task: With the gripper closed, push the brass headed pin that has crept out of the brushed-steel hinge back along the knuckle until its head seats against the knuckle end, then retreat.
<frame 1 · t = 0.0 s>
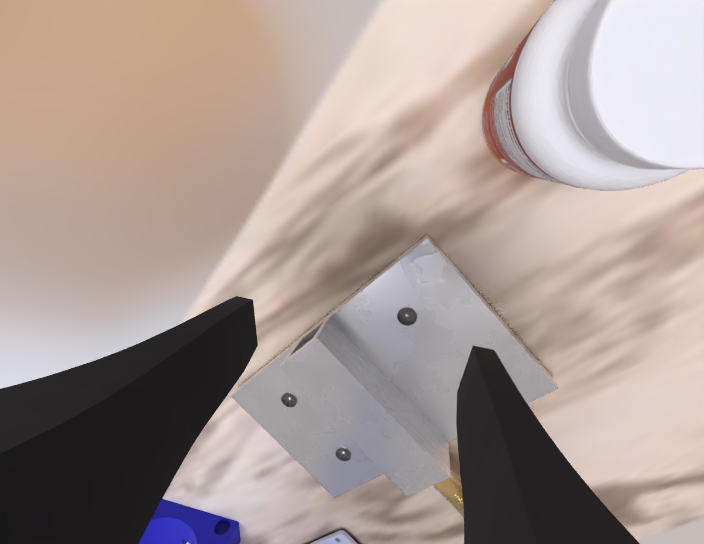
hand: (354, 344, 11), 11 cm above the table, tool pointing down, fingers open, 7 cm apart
pill bottle: (544, 112, 16), on the table
steel hinge: (374, 381, 24), on the table
cable clip: (191, 517, 35), on the table
brass headed pin: (432, 468, 22), point 2 cm above the table, slide at 6.0 cm
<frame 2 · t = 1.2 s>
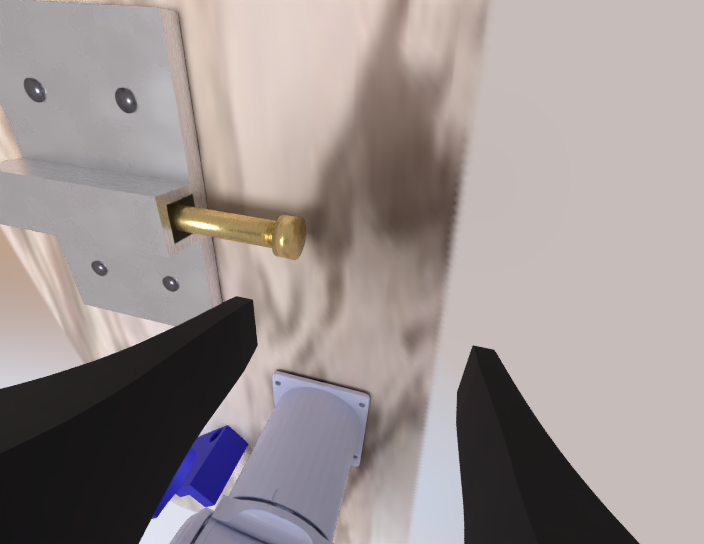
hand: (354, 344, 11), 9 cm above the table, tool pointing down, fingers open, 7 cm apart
steel hinge: (126, 193, 22), on the table
cable clip: (212, 447, 36), on the table
brass headed pin: (191, 219, 19), point 2 cm above the table, slide at 6.0 cm
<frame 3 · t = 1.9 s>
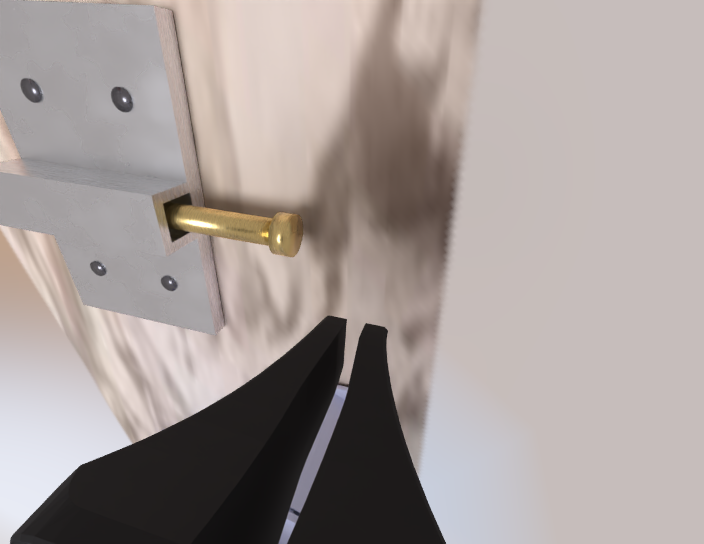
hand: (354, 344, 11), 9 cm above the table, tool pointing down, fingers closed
steel hinge: (124, 192, 22), on the table
brass headed pin: (188, 218, 19), point 2 cm above the table, slide at 6.0 cm
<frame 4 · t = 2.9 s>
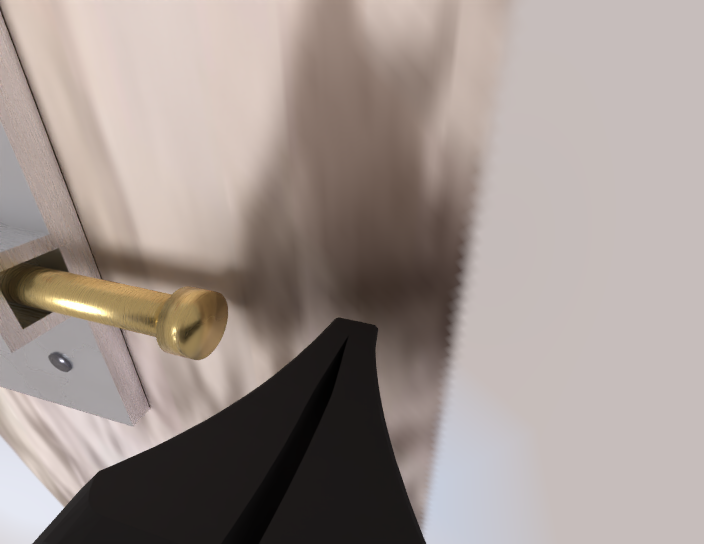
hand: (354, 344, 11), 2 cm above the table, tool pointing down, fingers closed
brass headed pin: (52, 289, 12), point 2 cm above the table, slide at 6.0 cm
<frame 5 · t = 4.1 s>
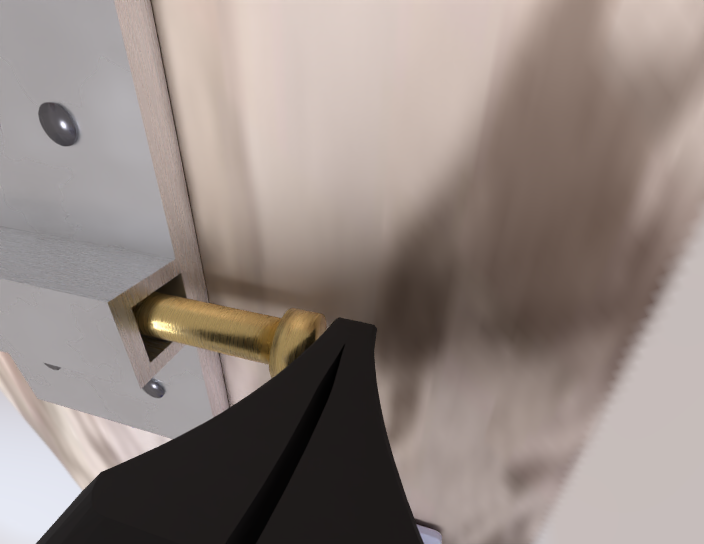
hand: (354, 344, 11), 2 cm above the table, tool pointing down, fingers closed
steel hinge: (82, 259, 14), on the table
brass headed pin: (139, 310, 12), point 2 cm above the table, slide at 4.4 cm, touching gripper
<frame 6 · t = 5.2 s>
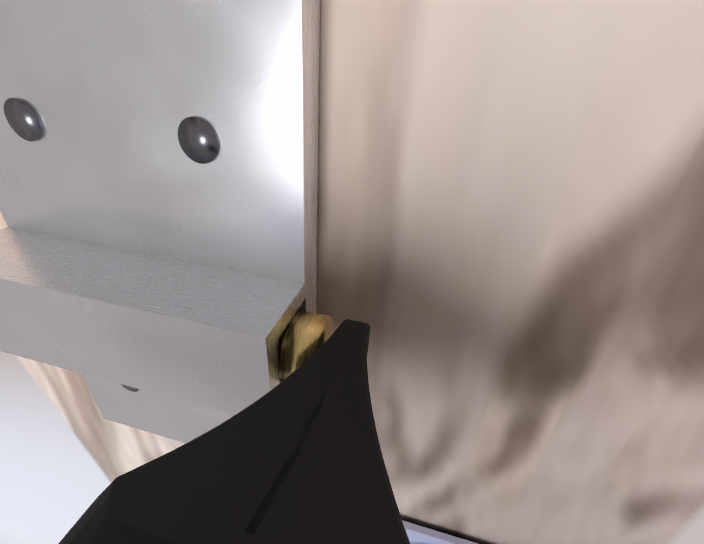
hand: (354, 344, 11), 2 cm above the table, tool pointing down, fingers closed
steel hinge: (176, 278, 13), on the table
brass headed pin: (146, 312, 11), point 2 cm above the table, slide at 0.0 cm, touching gripper, steel hinge
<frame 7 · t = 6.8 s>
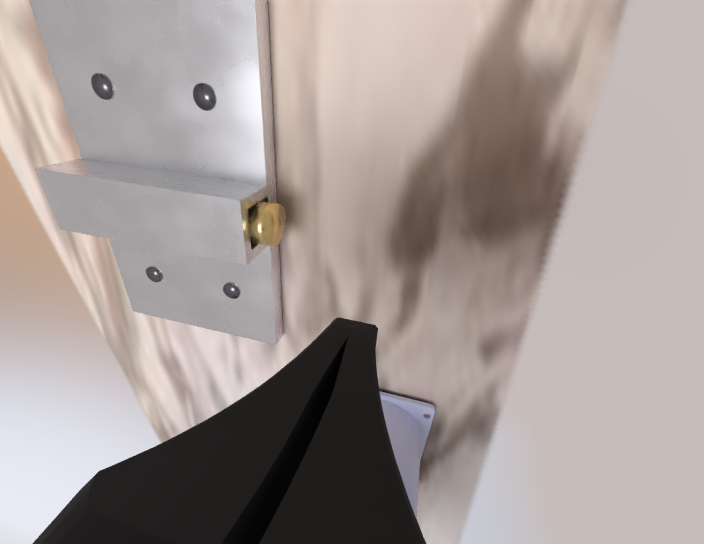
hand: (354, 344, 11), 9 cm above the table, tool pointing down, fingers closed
steel hinge: (188, 195, 21), on the table
brass headed pin: (170, 207, 19), point 2 cm above the table, slide at 0.0 cm, touching steel hinge
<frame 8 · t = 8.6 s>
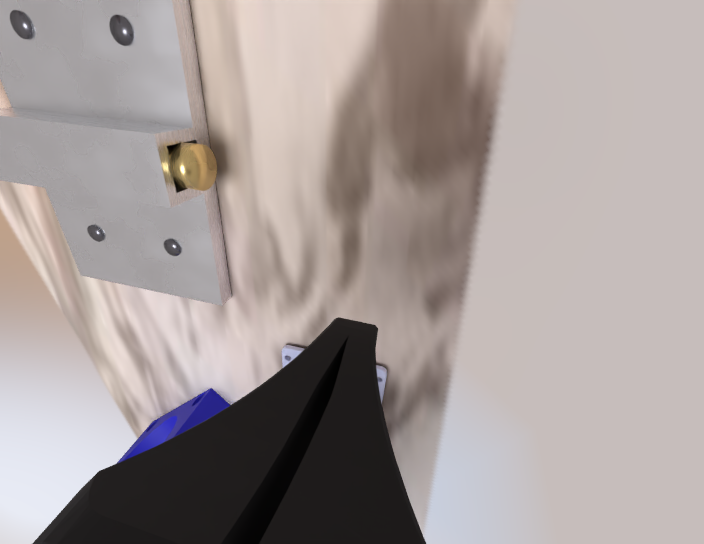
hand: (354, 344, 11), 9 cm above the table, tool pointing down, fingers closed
steel hinge: (124, 146, 20), on the table
cable clip: (198, 417, 34), on the table
brass headed pin: (99, 153, 18), point 2 cm above the table, slide at 0.0 cm, touching steel hinge
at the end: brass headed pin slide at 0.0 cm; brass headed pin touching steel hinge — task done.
